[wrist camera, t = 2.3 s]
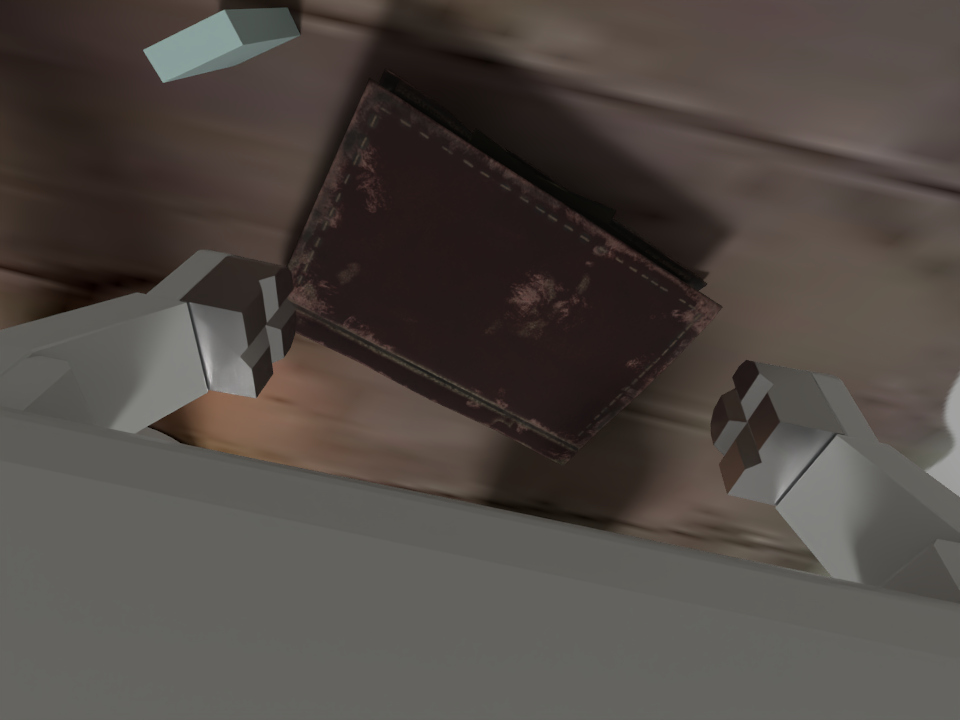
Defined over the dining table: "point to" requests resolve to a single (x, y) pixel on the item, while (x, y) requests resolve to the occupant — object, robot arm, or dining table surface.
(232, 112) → the dining table surface
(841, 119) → the dining table surface
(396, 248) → the diary
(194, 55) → the domino
